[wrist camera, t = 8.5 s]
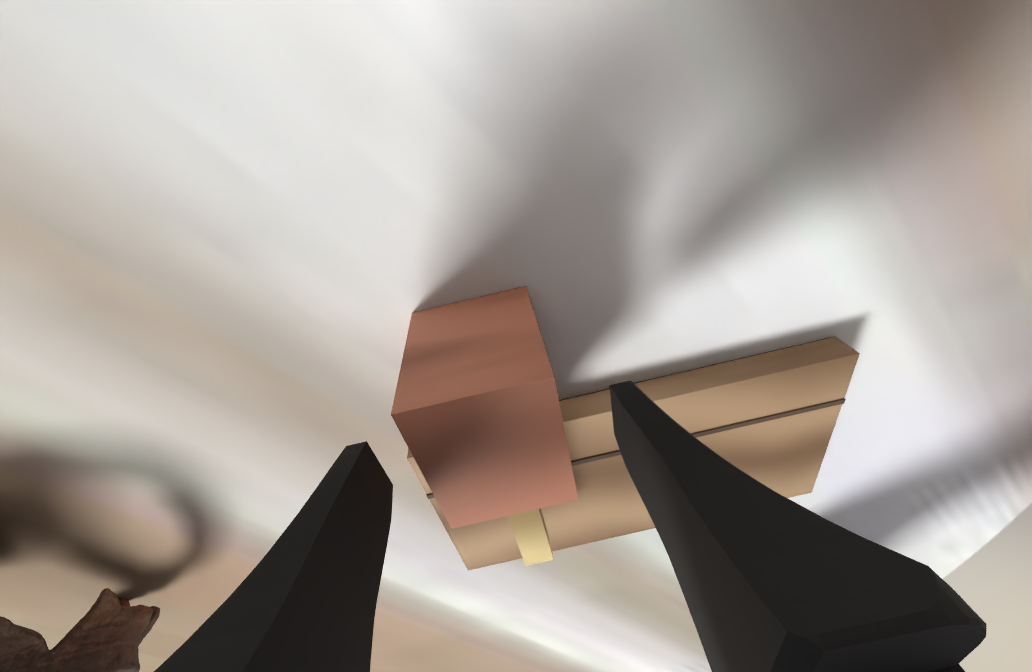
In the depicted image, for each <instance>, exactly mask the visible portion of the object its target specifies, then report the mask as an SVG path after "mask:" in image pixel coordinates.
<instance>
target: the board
mask: <svg viewBox="0 0 1032 672" xmlns="http://www.w3.org/2000/svg"><path fill="white" fill-rule="evenodd" d="M859 354H860V353H858V352H857V351H855V350H854V349H852V348H851V347H850V346H848V345H847V344H845V343H844V342H842V341H841V340H839V339H838V338H837V337H832V338H827V339H823V340H819V341H815V342H810V343H806V344H802V345H797V346H793V347H789V348H785V349H780V350H776V351H772V352H767V353H763V354H759V355H754V356H750V357H746V358H742V359H737V360H733V361H729V362H724V363H720V364H716V365H712V366H707V367H703V368H699V369H694V370H690V371H686V372H682V373H677V374H673V375H669V376H664V377H660V378H656V379H651V380H647V381H643V382H639V383H635V384H636V385H637V386H638V387H639V388H640V389H641V390H642V391H643V392H644V393H645V394H646V395H647V396H648V397H649V398H650V399H651V400H652V401H653V402H654V403H655V404H656V405H658V406H659V407H660V408H661V409H662V410H663V411H664V412H665V413H666V414H668V415H669V416H670V417H671V418H672V419H673V420H675V421H676V422H677V423H678V424H679V425H681V426H682V427H683V428H684V429H686V430H687V431H688V432H689V433H690V434H692V435H693V436H694V437H695V438H697V439H698V440H699V441H701V442H702V443H703V444H705V445H706V446H707V447H709V448H710V449H711V450H713V451H714V452H715V453H717V454H718V455H720V456H721V457H722V458H724V459H725V460H727V461H728V462H730V463H731V464H732V465H734V466H735V467H737V468H738V469H740V470H742V471H743V472H745V473H746V474H748V475H749V476H751V477H752V478H754V479H755V480H757V481H759V482H760V483H762V484H764V485H765V486H767V487H769V488H770V489H772V490H774V491H775V492H777V493H779V494H780V495H782V496H784V497H786V498H789V497H794V496H798V495H802V494H807V493H811V492H812V489H813V487H814V484H815V481H816V478H817V475H818V472H819V469H820V466H821V463H822V461H823V458H824V455H825V452H826V449H827V446H828V443H829V440H830V437H831V435H832V432H833V429H834V426H835V423H836V420H837V417H838V414H839V412H840V409H841V406H842V404H844V402H845V399H844V397H845V394H846V391H847V388H848V386H849V383H850V380H851V377H852V374H853V371H854V368H855V365H856V362H857V360H858V357H859ZM559 403H560V409H561V414H562V419H563V424H564V429H565V434H566V439H567V444H568V449H569V455H570V460H571V465H572V470H573V475H574V480H575V485H576V490H577V496H578V500H575V501H571V502H566V503H562V504H558V505H553V506H549V507H545V508H541V510H542V514H543V517H544V521H545V524H546V528H547V531H548V535H549V539H550V544H551V549H552V551H556V550H560V549H564V548H569V547H573V546H578V545H582V544H586V543H591V542H595V541H600V540H604V539H608V538H613V537H617V536H622V535H626V534H630V533H635V532H639V531H644V530H648V529H653V528H656V527H655V525H654V523H653V521H652V519H651V517H650V515H649V513H648V511H647V509H646V507H645V505H644V503H643V501H642V499H641V497H640V495H639V493H638V491H637V489H636V487H635V485H634V482H633V480H632V478H631V476H630V474H629V472H628V470H627V468H626V466H625V463H624V460H623V458H622V455H621V452H620V449H619V447H618V444H617V441H616V438H615V435H614V427H613V417H612V407H611V397H610V389H609V390H604V391H600V392H596V393H591V394H587V395H583V396H578V397H574V398H570V399H566V400H561V401H559ZM407 459H408V461H409V463H410V465H411V466H412V468H413V470H414V472H415V474H416V476H417V477H418V479H419V481H420V483H421V485H422V487H423V488H424V490H425V492H426V494H427V497H428V499H430V501H431V503H432V505H433V507H434V509H435V510H436V512H437V514H438V516H439V518H440V520H441V522H442V523H443V525H444V527H445V529H446V531H447V533H448V534H449V536H450V538H451V540H452V542H453V544H454V545H455V547H456V549H457V551H458V553H459V555H460V556H461V558H462V560H463V562H464V564H465V566H466V567H467V569H468V570H472V569H476V568H481V567H485V566H489V565H494V564H498V563H503V562H507V561H512V560H516V559H520V558H523V557H522V555H521V552H520V549H519V547H518V544H517V542H516V539H515V536H514V534H513V531H512V528H511V526H510V523H509V520H508V518H507V516H505V517H501V518H497V519H492V520H488V521H484V522H479V523H475V524H471V525H466V526H462V527H458V528H453V529H451V527H450V525H449V523H448V521H447V520H446V518H445V516H444V514H443V512H442V510H441V508H440V506H439V504H438V503H437V501H436V499H435V497H434V495H433V493H432V491H431V489H430V487H429V485H428V484H427V482H426V480H425V478H424V476H423V474H422V472H421V470H420V468H419V467H418V465H417V463H416V461H415V459H414V457H413V455H412V453H411V451H410V450H409V449H408V456H407Z"/></svg>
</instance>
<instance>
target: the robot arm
mask: <svg viewBox="0 0 1032 672" xmlns="http://www.w3.org/2000/svg"><path fill="white" fill-rule="evenodd" d="M609 387H610V397H611V407H612V417H613V427H614V435H615V438H616V441H617V444H618V447H619V449H620V452H621V455H622V458H623V460H624V463H625V466H626V468H627V470H628V472H629V474H630V476H631V478H632V480H633V482H634V485H635V487H636V489H637V491H638V493H639V495H640V497H641V499H642V501H643V503H644V505H645V507H646V509H647V511H648V513H649V515H650V517H651V519H652V521H653V523H654V525H655V527H656V529H657V531H658V533H659V535H660V537H661V540H662V542H663V544H664V546H665V549H666V551H667V553H668V555H669V558H670V561H671V563H672V566H673V568H674V571H675V573H676V576H677V579H678V581H679V584H680V586H681V589H682V592H683V594H684V597H685V600H686V602H687V605H688V608H689V610H690V613H691V616H692V618H693V621H694V624H695V626H696V629H697V632H698V634H699V637H700V640H701V643H702V645H703V648H704V651H705V654H706V656H707V659H708V662H709V665H710V668H711V670H712V672H965V671H964V670H963V669H962V667H961V666H960V665H959V664H958V663H960V662H961V661H962V660H963V659H964V658H965V657H966V656H967V655H968V654H969V653H971V652H972V651H973V650H974V649H975V648H976V647H977V646H978V645H979V644H980V643H981V642H982V641H983V639H984V638H985V637H986V623H985V622H984V621H983V620H982V619H981V618H980V617H979V616H978V615H977V614H976V613H975V612H974V611H973V610H972V609H971V608H970V607H969V606H968V605H967V603H966V602H965V601H964V600H963V599H962V598H961V597H960V596H959V595H958V594H957V593H956V592H955V591H954V590H953V589H952V588H951V587H950V586H949V585H948V584H947V583H946V582H945V581H944V580H942V579H941V578H940V577H939V576H938V575H937V574H936V573H935V572H934V571H933V570H932V569H931V568H930V567H929V566H927V565H924V564H922V563H920V562H917V561H915V560H913V559H911V558H908V557H906V556H904V555H902V554H899V553H897V552H895V551H892V550H890V549H888V548H886V547H883V546H881V545H879V544H876V543H874V542H872V541H870V540H867V539H865V538H863V537H861V536H859V535H857V534H855V533H852V532H850V531H848V530H846V529H844V528H842V527H840V526H838V525H836V524H834V523H832V522H830V521H828V520H826V519H824V518H822V517H821V516H819V515H817V514H815V513H813V512H811V511H810V510H808V509H806V508H804V507H802V506H800V505H799V504H797V503H795V502H793V501H791V500H789V499H788V498H786V497H784V496H782V495H780V494H779V493H777V492H775V491H774V490H772V489H770V488H769V487H767V486H765V485H764V484H762V483H760V482H759V481H757V480H755V479H754V478H752V477H751V476H749V475H748V474H746V473H745V472H743V471H742V470H740V469H738V468H737V467H735V466H734V465H732V464H731V463H730V462H728V461H727V460H725V459H724V458H722V457H721V456H720V455H718V454H717V453H715V452H714V451H713V450H711V449H710V448H709V447H707V446H706V445H705V444H703V443H702V442H701V441H699V440H698V439H697V438H695V437H694V436H693V435H692V434H690V433H689V432H688V431H687V430H686V429H684V428H683V427H682V426H681V425H679V424H678V423H677V422H676V421H675V420H673V419H672V418H671V417H670V416H669V415H668V414H666V413H665V412H664V411H663V410H662V409H661V408H660V407H659V406H658V405H656V404H655V403H654V402H653V401H652V400H651V399H650V398H649V397H648V396H647V395H646V394H645V393H644V392H643V391H642V390H641V389H640V388H639V387H638V386H637V385H636V384H635V383H633V382H632V381H627V382H622V383H618V384H614V385H609ZM392 494H393V484H392V483H391V481H390V479H389V478H388V476H387V474H386V473H385V471H384V469H383V468H382V466H381V464H380V463H379V461H378V459H377V458H376V456H375V454H374V453H373V451H372V449H371V448H370V446H369V445H368V443H367V441H366V442H362V443H358V444H353V445H349V446H346V447H345V449H344V450H343V451H342V453H341V454H340V456H339V457H338V458H337V460H336V461H335V463H334V464H333V465H332V467H331V468H330V470H329V471H328V473H327V474H326V475H325V477H324V478H323V480H322V481H321V482H320V484H319V485H318V487H317V488H316V490H315V491H314V492H313V494H312V495H311V496H310V498H309V499H308V501H307V502H306V503H305V505H304V506H303V508H302V509H301V510H300V512H299V513H298V514H297V516H296V517H295V518H294V520H293V521H292V522H291V523H290V525H289V526H288V527H287V529H286V530H285V531H284V532H283V534H282V535H281V536H280V538H279V539H278V540H277V541H276V543H275V544H274V545H273V547H272V548H271V549H270V550H269V552H268V553H267V554H266V555H265V557H264V558H263V559H262V560H261V561H260V563H259V564H258V565H257V566H256V567H255V568H254V570H253V571H252V572H251V573H250V574H249V575H248V576H247V578H246V579H245V580H244V581H243V582H242V583H241V584H240V585H239V587H238V588H237V589H236V590H235V591H234V592H233V593H232V594H231V595H230V597H229V598H228V599H227V600H226V601H225V602H224V603H223V604H222V605H221V606H220V607H219V608H218V609H217V610H216V611H215V612H214V613H213V614H212V615H211V616H210V617H209V618H208V619H207V620H206V621H205V622H204V623H203V624H202V625H201V627H200V628H199V629H198V630H197V631H196V632H195V633H194V634H193V635H192V636H191V637H190V638H189V639H188V640H187V641H186V642H185V643H184V644H183V645H182V646H181V647H180V648H179V649H177V650H176V651H175V652H174V653H173V654H172V655H171V656H170V657H169V658H168V659H167V660H166V661H165V662H164V663H163V664H162V665H161V666H160V667H159V668H157V669H156V670H155V671H154V672H370V661H371V649H372V637H373V626H374V617H375V610H376V602H377V597H378V591H379V586H380V580H381V575H382V569H383V564H384V558H385V553H386V547H387V541H388V535H389V530H390V523H391V514H392Z"/></svg>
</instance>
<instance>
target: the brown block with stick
mask: <svg viewBox="0 0 1032 672" xmlns="http://www.w3.org/2000/svg"><path fill="white" fill-rule="evenodd" d="M391 416H392V417H393V419H394V421H395V423H396V425H397V427H398V429H399V431H400V433H401V434H402V436H403V438H404V440H405V442H406V444H407V446H408V448H409V450H410V451H411V453H412V455H413V457H414V459H415V461H416V463H417V465H418V467H419V468H420V470H421V472H422V474H423V476H424V478H425V480H426V482H427V484H428V485H429V487H430V489H431V491H432V493H433V495H434V497H435V499H436V501H437V503H438V504H439V506H440V508H441V510H442V512H443V514H444V516H445V518H446V520H447V521H448V523H449V525H450V527H451V529H453V528H458V527H462V526H466V525H471V524H475V523H479V522H484V521H488V520H492V519H497V518H501V517H505V516H507V518H508V520H509V523H510V526H511V528H512V531H513V534H514V536H515V539H516V542H517V544H518V547H519V549H520V552H521V555H522V557H523V560H524V563H525V565H526V566H527V565H531V564H536V563H540V562H545V561H549V560H553V554H552V549H551V544H550V539H549V535H548V531H547V528H546V524H545V521H544V517H543V514H542V510H541V508H545V507H549V506H553V505H558V504H562V503H566V502H571V501H575V500H578V496H577V490H576V485H575V480H574V475H573V470H572V465H571V460H570V455H569V449H568V444H567V439H566V434H565V429H564V424H563V419H562V414H561V409H560V403H559V398H558V393H557V388H556V383H555V378H554V374H553V371H552V368H551V365H550V361H549V358H548V355H547V352H546V348H545V345H544V342H543V339H542V336H541V332H540V329H539V326H538V323H537V320H536V316H535V313H534V310H533V307H532V304H531V300H530V297H529V294H528V291H527V288H526V286H524V287H519V288H515V289H511V290H507V291H502V292H498V293H494V294H490V295H486V296H481V297H477V298H473V299H469V300H465V301H460V302H456V303H452V304H448V305H444V306H439V307H435V308H431V309H427V310H423V311H418V312H414V313H412V316H411V321H410V326H409V330H408V335H407V340H406V345H405V350H404V354H403V359H402V364H401V369H400V374H399V379H398V383H397V388H396V393H395V398H394V403H393V407H392V412H391Z"/></svg>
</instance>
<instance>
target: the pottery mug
mask: <svg viewBox="0 0 1032 672" xmlns="http://www.w3.org/2000/svg"><path fill="white" fill-rule="evenodd" d="M159 613H160V608H158V607H155V606H151V607H148V606H144V605H137V606H132V607H130V603H129V601H128V600H126V599H119V600H118V598H117V596H116V595H115V594H114V593H113V592H112V591H111V590H110V589H108V588H106V589H104V590H103V591H102V592H101V593H100V596H99V597H98V599H97V601H96V602H95V603H94V605H93V606H92V607H91V609H90V610H89V611H88V613H87V614H86V615H85V616H84V617H83V618H82V619H81V620H80V621H79V622H78V623H77V624H76V625H75V626H74V627H73V628H72V629H71V630H70V631H69V632H68V633H67V634H66V636H65V637H64V638H63V639H62V640H61V641H60V642H59V643H58V644H57V645H56V646H55V647H54V648H53V649H52V650H49V649H48V647H47V644H46V641H45V639H44V638H43V637H42V635H41V634H39V633H38V632H36V631H34V630H32V629H28V628H25V627H22V626H18V625H15V624H13V623H12V622H11V621H10V620H8V619H6V618H4V617H0V672H139V670H140V664H139V659H138V646H139V644H140V643H141V641H142V640H143V638H144V637H145V636H146V635H147V634H148V633H149V631H150V630H151V628H152V627H153V625H154V624H155V622H156V620H157V619H158V617H159Z"/></svg>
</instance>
